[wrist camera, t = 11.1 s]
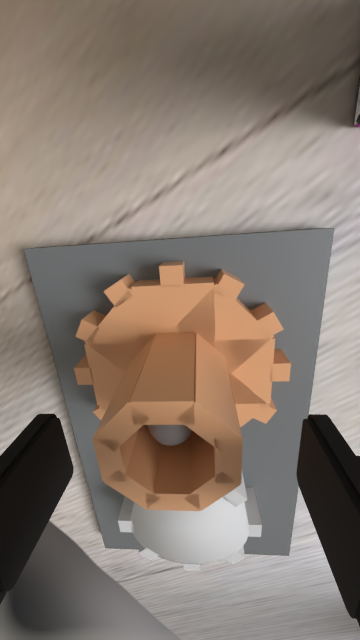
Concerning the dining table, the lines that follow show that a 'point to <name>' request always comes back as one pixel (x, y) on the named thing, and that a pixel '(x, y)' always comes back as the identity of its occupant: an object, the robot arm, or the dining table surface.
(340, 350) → the dining table surface
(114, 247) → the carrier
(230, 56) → the dining table surface
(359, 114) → the candy bar box
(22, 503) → the robot arm
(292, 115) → the dining table surface
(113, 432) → the gear
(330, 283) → the dining table surface
